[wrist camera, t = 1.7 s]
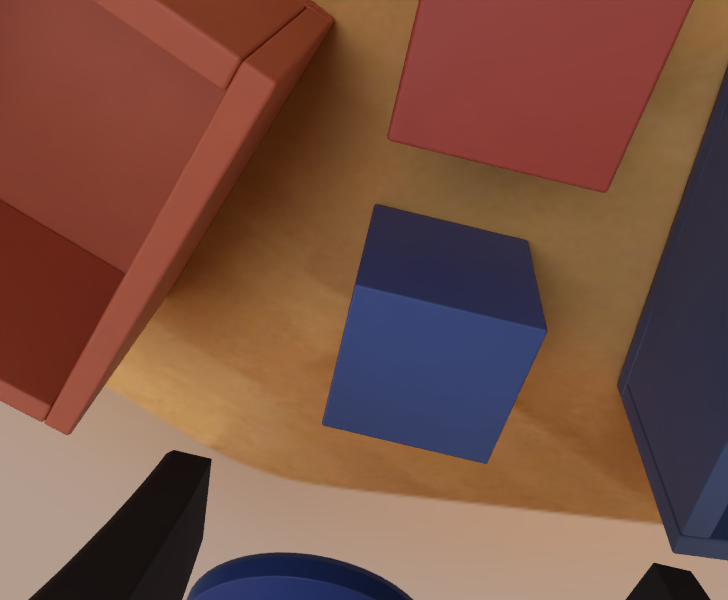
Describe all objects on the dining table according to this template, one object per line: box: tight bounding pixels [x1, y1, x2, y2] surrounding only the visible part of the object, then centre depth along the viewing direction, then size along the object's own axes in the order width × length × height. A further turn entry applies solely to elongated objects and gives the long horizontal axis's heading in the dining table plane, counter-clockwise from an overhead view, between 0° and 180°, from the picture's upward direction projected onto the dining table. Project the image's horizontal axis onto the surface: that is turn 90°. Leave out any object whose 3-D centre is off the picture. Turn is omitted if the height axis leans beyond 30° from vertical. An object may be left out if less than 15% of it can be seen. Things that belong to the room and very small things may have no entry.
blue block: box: [322, 204, 547, 464], centre depth 16 cm, size 4×4×4 cm
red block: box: [387, 0, 694, 192], centre depth 12 cm, size 4×4×4 cm
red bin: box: [0, 0, 334, 435], centre depth 13 cm, size 9×9×6 cm
